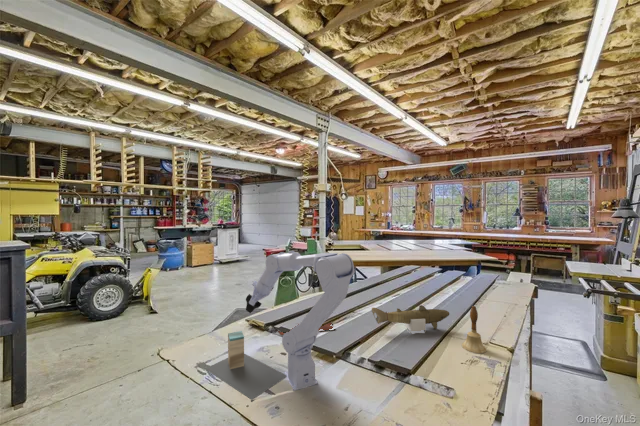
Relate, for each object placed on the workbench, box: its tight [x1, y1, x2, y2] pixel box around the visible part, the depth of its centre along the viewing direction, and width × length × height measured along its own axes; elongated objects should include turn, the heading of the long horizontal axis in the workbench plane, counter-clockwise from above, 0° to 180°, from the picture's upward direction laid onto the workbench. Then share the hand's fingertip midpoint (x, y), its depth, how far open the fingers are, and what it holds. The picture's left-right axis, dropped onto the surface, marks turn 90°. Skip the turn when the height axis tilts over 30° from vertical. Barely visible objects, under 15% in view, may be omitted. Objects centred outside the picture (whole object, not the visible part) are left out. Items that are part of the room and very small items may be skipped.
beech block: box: [227, 330, 245, 369], centre depth 96 cm, size 4×4×10 cm
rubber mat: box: [204, 353, 287, 403], centre depth 92 cm, size 24×14×1 cm, turn 52°
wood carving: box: [371, 304, 450, 331], centre depth 123 cm, size 9×35×11 cm, turn 98°
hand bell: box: [461, 305, 487, 354], centre depth 109 cm, size 8×8×16 cm
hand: (253, 304), depth 107 cm, fingers open, 7 cm apart
